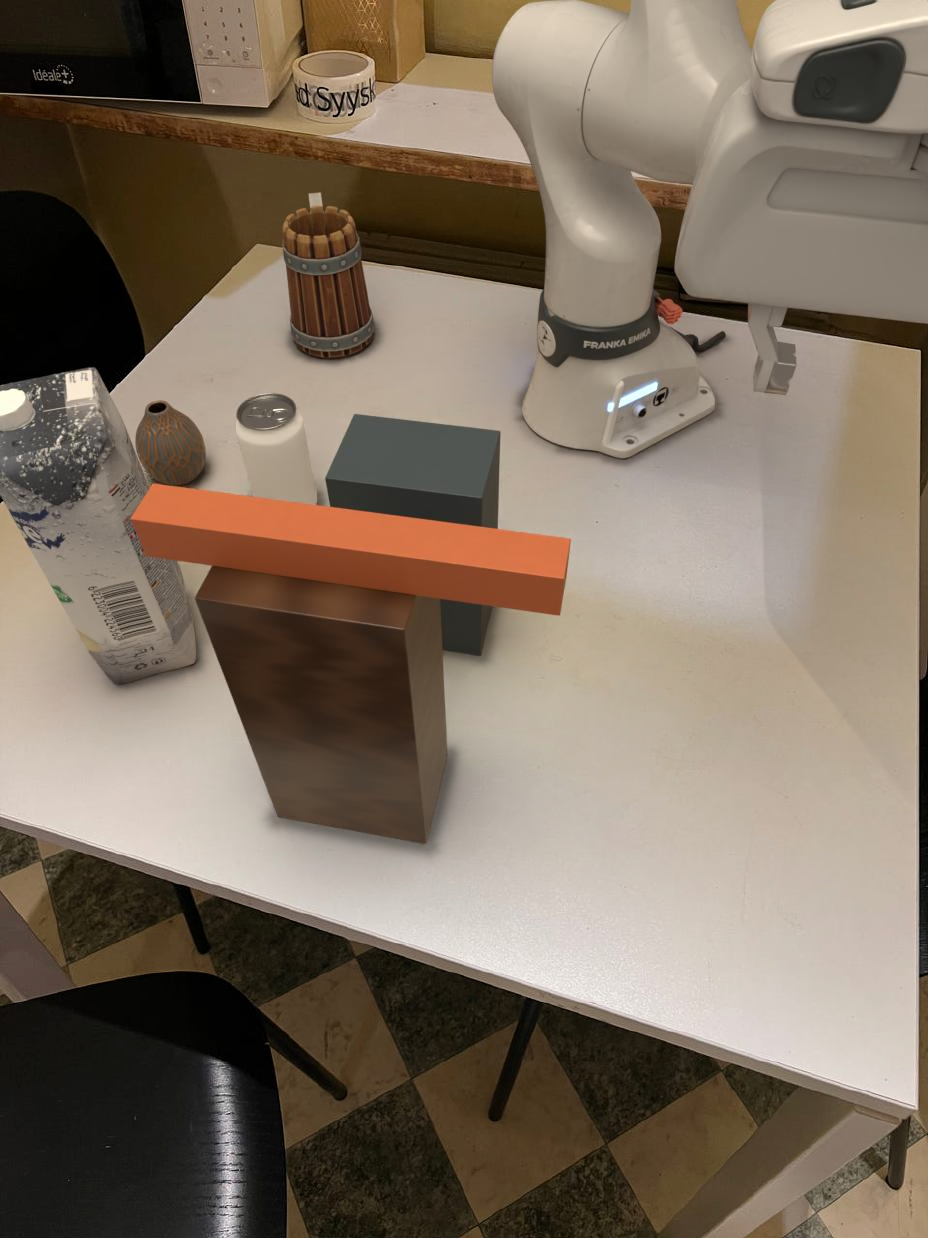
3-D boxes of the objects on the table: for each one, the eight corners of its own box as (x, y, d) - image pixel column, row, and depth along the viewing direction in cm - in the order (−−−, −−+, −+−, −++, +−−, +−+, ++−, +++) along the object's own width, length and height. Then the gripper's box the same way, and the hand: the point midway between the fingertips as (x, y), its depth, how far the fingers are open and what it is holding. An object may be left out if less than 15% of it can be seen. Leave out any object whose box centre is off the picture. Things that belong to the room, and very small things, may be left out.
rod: (566, 576, 48) (571, 538, 46) (559, 616, 46) (564, 578, 44) (167, 521, 52) (152, 482, 49) (145, 556, 50) (129, 518, 47)
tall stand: (447, 755, 71) (437, 527, 51) (426, 844, 66) (404, 630, 46) (308, 731, 73) (245, 501, 53) (276, 817, 68) (193, 598, 48)
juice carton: (190, 588, 83) (96, 339, 62) (209, 670, 77) (110, 423, 56) (96, 613, 81) (-35, 365, 60) (106, 699, 75) (-35, 455, 54)
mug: (379, 356, 108) (368, 238, 96) (294, 364, 107) (272, 247, 95) (367, 292, 118) (356, 178, 106) (290, 299, 117) (269, 185, 105)
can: (307, 530, 88) (287, 435, 79) (247, 521, 89) (221, 427, 80) (326, 488, 92) (309, 394, 83) (268, 480, 93) (246, 386, 84)
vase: (180, 503, 91) (157, 436, 84) (133, 480, 93) (107, 413, 86) (225, 466, 95) (206, 399, 88) (179, 445, 97) (157, 379, 90)
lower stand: (496, 590, 82) (500, 430, 68) (480, 656, 77) (482, 498, 63) (375, 573, 84) (354, 413, 70) (352, 636, 79) (324, 477, 64)
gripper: (1330, 44, 29) (1101, 390, 40) (723, 2, 32) (657, 336, 43) (1423, 110, 25) (1141, 476, 36) (718, 55, 28) (647, 410, 39)
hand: (874, 400), depth 39 cm, fingers open, 8 cm apart
